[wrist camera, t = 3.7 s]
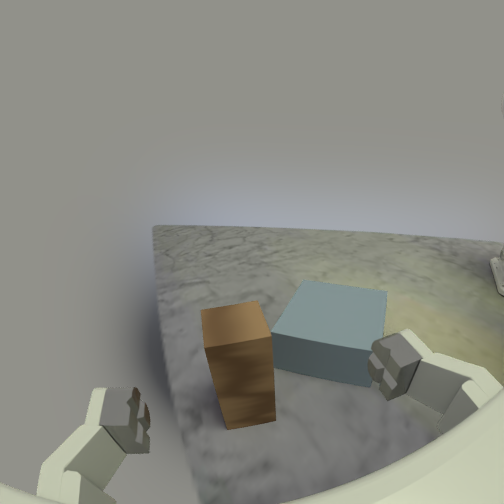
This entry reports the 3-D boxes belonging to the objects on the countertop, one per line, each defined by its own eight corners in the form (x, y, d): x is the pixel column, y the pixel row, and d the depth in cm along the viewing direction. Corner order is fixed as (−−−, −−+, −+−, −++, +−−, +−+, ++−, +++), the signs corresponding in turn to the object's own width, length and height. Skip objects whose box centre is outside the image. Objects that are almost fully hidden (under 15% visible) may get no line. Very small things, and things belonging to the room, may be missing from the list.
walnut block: (265, 386, 30) (257, 300, 25) (275, 420, 25) (271, 336, 20) (221, 394, 29) (201, 310, 24) (227, 429, 25) (204, 347, 20)
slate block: (303, 313, 42) (303, 279, 40) (380, 326, 37) (387, 291, 35) (272, 368, 33) (270, 331, 30) (369, 388, 28) (380, 352, 25)
